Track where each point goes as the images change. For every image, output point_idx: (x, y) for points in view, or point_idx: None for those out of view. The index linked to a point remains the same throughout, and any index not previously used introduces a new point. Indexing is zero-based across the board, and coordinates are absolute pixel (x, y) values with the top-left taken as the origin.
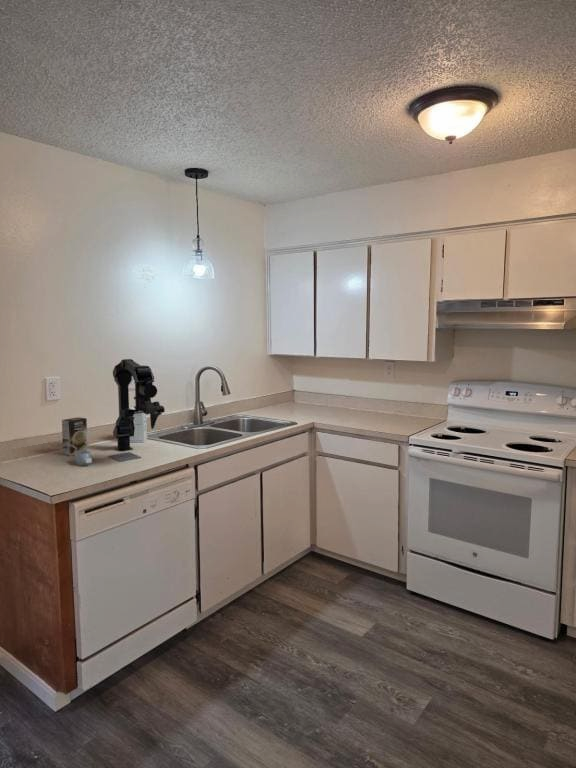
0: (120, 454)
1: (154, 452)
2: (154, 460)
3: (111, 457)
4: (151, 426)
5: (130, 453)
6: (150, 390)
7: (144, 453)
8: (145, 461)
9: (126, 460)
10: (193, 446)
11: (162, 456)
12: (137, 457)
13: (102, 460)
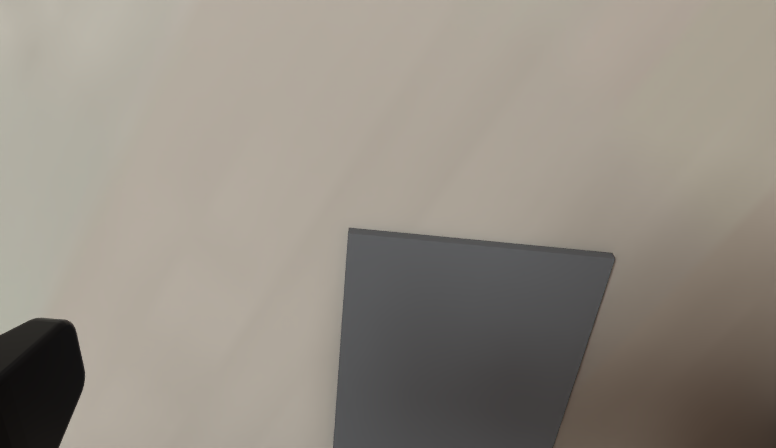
0: (446, 438)
1: (119, 312)
2: (283, 11)
3: (558, 421)
4: (46, 434)
5: (355, 410)
6: None
7: (227, 347)
8: (399, 57)
9: (534, 246)
10: None
11: (107, 108)
12: (390, 246)
13: (674, 401)
